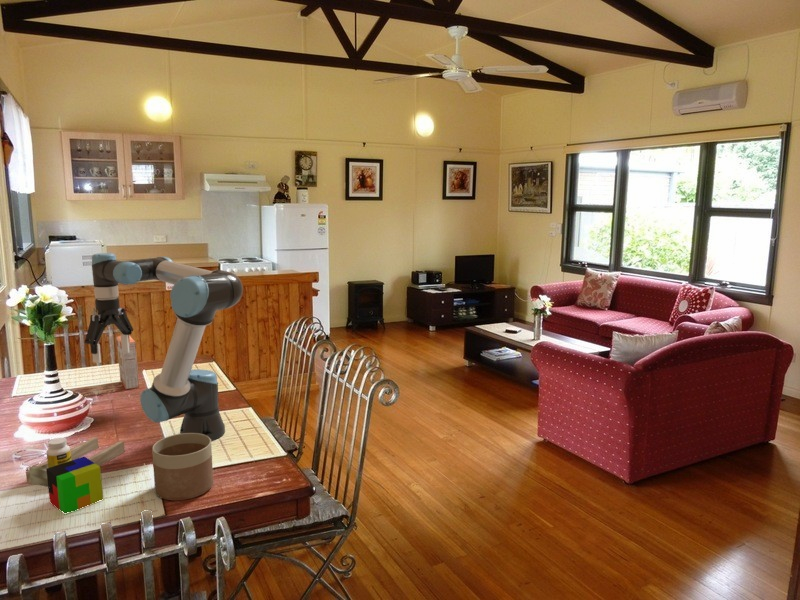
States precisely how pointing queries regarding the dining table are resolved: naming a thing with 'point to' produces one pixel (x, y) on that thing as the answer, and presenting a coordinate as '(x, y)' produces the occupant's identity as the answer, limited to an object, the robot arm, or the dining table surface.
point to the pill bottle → (58, 452)
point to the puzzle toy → (74, 484)
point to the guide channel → (40, 474)
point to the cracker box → (128, 365)
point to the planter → (182, 466)
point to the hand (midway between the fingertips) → (111, 357)
